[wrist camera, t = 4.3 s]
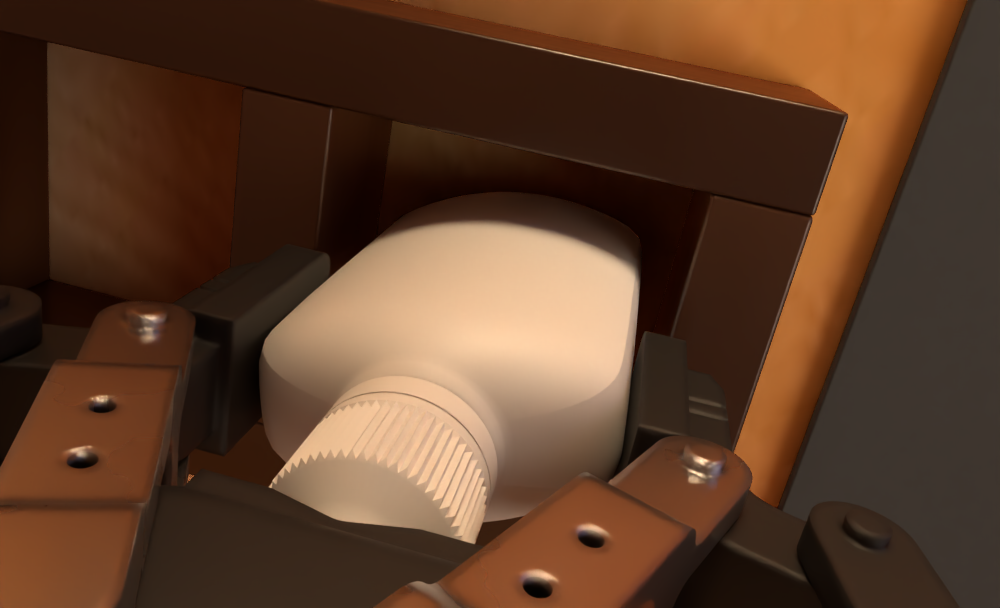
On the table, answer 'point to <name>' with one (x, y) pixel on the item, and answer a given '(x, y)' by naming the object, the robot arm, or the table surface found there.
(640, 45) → the table surface
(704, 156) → the rack
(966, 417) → the mat
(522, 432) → the eye dropper bottle
